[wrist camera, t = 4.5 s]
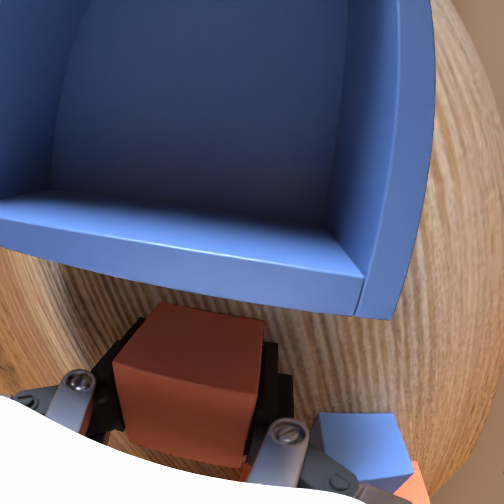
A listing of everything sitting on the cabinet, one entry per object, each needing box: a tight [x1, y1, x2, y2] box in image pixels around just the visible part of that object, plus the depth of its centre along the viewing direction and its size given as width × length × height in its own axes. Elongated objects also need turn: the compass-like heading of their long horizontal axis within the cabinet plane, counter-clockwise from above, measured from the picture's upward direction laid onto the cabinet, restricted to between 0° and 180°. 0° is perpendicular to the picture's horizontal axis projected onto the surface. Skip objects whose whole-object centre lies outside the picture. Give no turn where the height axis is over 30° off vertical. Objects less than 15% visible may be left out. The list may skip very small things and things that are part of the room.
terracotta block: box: [112, 302, 264, 468], centre depth 10 cm, size 4×4×4 cm
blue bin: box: [0, 0, 436, 320], centre depth 6 cm, size 13×13×6 cm
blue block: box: [309, 412, 414, 494], centre depth 11 cm, size 4×4×4 cm
